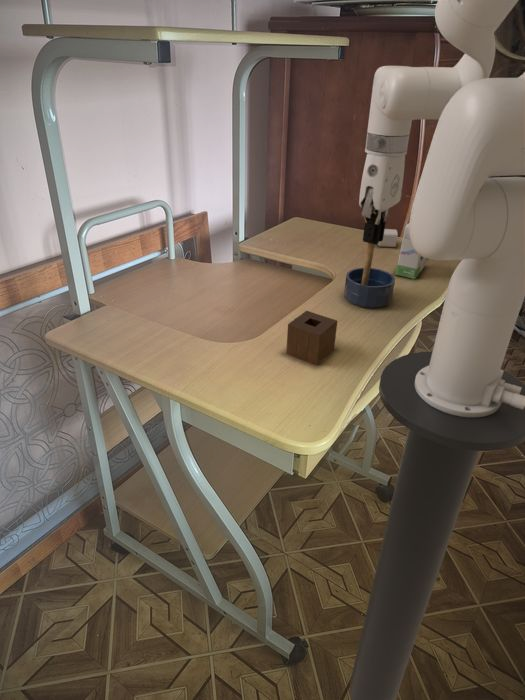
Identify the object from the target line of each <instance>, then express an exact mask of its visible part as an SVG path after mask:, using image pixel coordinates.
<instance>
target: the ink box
mask: <svg viewBox="0 0 525 700" xmlns="http://www.w3.org/2000/svg"><path fill="white" fill-rule="evenodd" d="M426 262H427V258H424V257H422V256H421V255H419V254H418V253H417V252H416V251H415V249H414V248H413V246H412V243H411V240H410V234H409V222H408V223H407V224H406V225H405V227H404V231H403V236H402V240H401V245H400V250H399V255H398V259H397V265H396V269H395V276H400V277H405V278H408V279H413V280H416V279H417V277H418V276H419V274H420V273H421V272H422V271H423V269H425V266H426Z"/></svg>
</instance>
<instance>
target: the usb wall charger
mask: <svg viewBox="0 0 525 700" xmlns="http://www.w3.org/2000/svg"><path fill="white" fill-rule="evenodd" d="M398 236H399V233H398V230H397V229H395V228H394V229H393V228H385V230H384V237H383V240H382V241H381V242H380V241H379V243H378V244H377V245H378V247H381V248H396V247H397V242H398Z"/></svg>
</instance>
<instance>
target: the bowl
mask: <svg viewBox="0 0 525 700" xmlns="http://www.w3.org/2000/svg"><path fill="white" fill-rule="evenodd" d="M363 270H364V267H359V268H358V267H356V268H353V269H350V270H349V271H348V272H346V275H345V283H344V292H343V296H344V298H345V299H346V300H347V301H348V302H350V303H351V304H352V305H355V306H358V307H362V308H369V309H375V308H381V307H385V306H388V305H389V304H390V303H391V302H392V300H393V294H394V288H395V284H396V277H395V276H394V274H392V273H390V272H388V271H386V270H383V269H379V268H374V267H371V269H370V275H369V281H368V286H367V285H362V284H361V282H362V276H363Z"/></svg>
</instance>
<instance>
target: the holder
mask: <svg viewBox="0 0 525 700" xmlns="http://www.w3.org/2000/svg"><path fill="white" fill-rule="evenodd" d="M337 329H338V320H337V319H334V318H331V317H327V316H326V315H325V316H324V315H321V314H319V313H316V312H312V311H309V310H305V311H304V312H302V313H301V314H300V315H298V316H296V318H294V319H293V320H291V321H290V322H288V324H287V334H286V335H287V336H286V337H287V338H286V352H285V354H286V355H288V356H291V357H293V358H296V359H299V360H302V361H304V362H307V363H309V364H312V365H315V366H319V364H321V363H322V362H323V361H324V360H325V359H326V358H328V356H329V355H330V354H331V353H333V352H334V351H335V345H336V337H337Z"/></svg>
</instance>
